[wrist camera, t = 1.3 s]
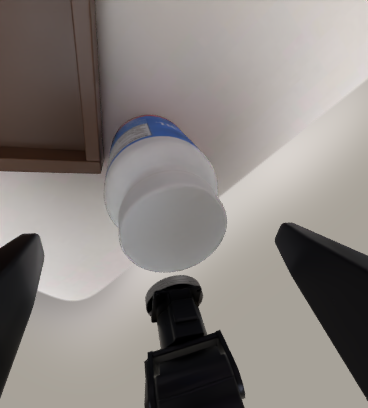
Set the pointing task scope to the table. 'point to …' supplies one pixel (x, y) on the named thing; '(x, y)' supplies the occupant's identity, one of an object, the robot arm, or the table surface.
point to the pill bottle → (162, 196)
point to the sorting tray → (49, 87)
